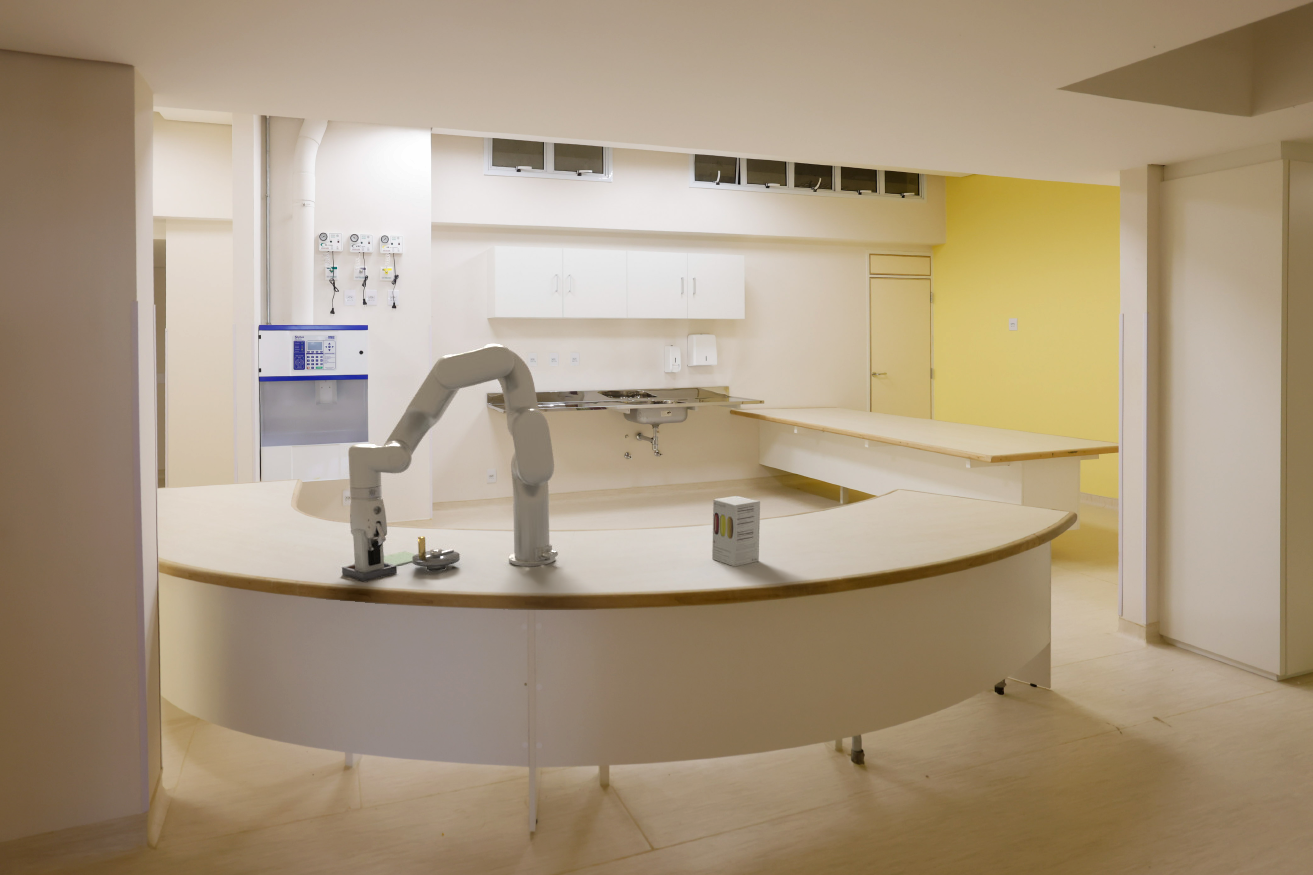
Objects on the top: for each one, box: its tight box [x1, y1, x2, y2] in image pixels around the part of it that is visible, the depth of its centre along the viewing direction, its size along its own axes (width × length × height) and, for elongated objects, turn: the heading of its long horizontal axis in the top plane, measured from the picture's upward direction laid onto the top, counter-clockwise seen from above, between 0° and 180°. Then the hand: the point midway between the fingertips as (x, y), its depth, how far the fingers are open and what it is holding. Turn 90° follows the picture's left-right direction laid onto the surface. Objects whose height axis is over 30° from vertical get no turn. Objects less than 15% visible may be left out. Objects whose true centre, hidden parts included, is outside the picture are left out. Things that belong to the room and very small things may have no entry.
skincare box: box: [352, 529, 385, 573], centre depth 211 cm, size 6×4×12 cm
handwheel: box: [411, 536, 461, 568], centre depth 216 cm, size 12×12×7 cm
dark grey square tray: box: [341, 562, 398, 583], centre depth 212 cm, size 10×10×2 cm
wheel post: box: [426, 565, 447, 572], centre depth 217 cm, size 5×5×2 cm
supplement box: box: [711, 495, 761, 567], centre depth 224 cm, size 10×9×17 cm
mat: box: [384, 550, 417, 566], centre depth 226 cm, size 10×10×1 cm
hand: (369, 562), depth 211 cm, fingers closed on skincare box, 4 cm apart
